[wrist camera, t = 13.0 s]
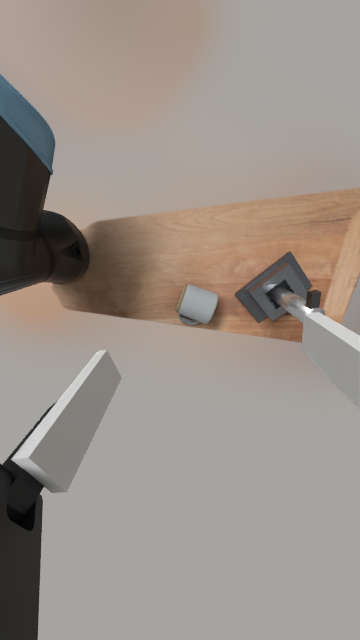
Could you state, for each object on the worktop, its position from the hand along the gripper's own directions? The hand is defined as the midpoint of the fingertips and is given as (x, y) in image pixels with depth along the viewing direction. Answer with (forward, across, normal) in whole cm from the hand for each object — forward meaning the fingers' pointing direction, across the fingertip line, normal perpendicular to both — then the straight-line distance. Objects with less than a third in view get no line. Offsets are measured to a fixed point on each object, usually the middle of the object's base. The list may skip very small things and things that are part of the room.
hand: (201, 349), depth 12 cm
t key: (+30, +17, -9) cm, 36 cm away
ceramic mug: (+32, -1, -8) cm, 33 cm away
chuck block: (+31, +18, -9) cm, 37 cm away
